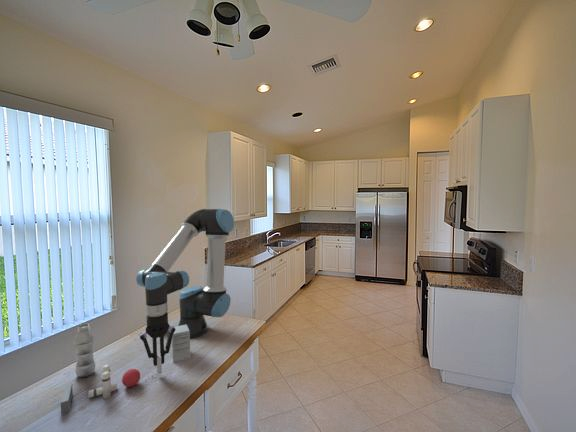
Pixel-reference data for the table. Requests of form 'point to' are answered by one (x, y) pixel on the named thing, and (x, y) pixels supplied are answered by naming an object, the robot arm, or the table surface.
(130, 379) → the ball
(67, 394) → the back wall
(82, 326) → the plastic bottle
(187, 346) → the supplement box
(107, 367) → the pin
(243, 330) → the table surface
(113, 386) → the front pin
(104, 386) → the pin
